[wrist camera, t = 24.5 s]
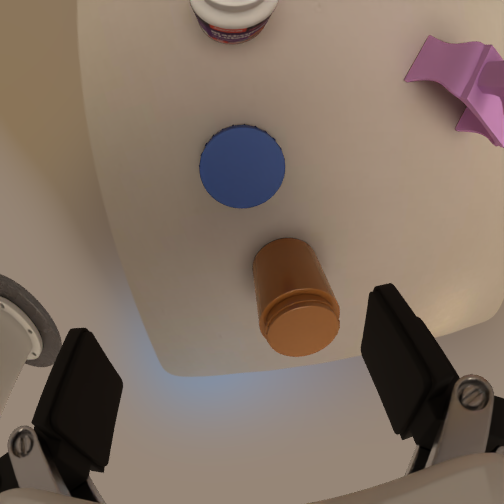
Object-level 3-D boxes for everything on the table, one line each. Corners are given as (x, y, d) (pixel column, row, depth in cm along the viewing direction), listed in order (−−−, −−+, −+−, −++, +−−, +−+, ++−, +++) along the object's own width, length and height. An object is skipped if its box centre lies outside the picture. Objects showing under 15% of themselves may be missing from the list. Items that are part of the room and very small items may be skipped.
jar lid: (299, 160, 25) (303, 165, 24) (246, 216, 28) (246, 224, 26) (237, 107, 23) (237, 108, 21) (184, 170, 25) (181, 175, 23)
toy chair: (455, 141, 24) (566, 196, 11) (399, 87, 22) (528, 112, 9) (483, 85, 21) (593, 115, 8) (432, 28, 18) (554, 24, 5)
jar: (258, 297, 32) (267, 366, 24) (246, 244, 29) (254, 310, 21) (318, 286, 32) (343, 351, 24) (314, 232, 29) (345, 292, 21)
